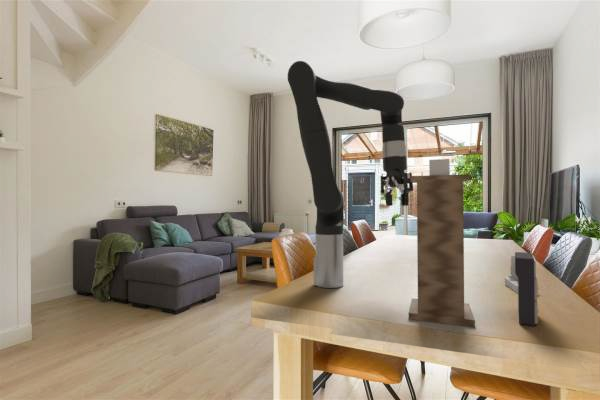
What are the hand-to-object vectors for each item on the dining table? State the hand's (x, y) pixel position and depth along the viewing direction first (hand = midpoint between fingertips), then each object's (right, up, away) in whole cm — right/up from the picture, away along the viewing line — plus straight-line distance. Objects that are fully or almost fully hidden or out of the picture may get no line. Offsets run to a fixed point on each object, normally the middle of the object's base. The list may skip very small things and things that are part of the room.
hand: (396, 205), depth 111 cm
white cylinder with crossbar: (+5, +8, -21) cm, 23 cm away
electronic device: (+38, -27, -4) cm, 47 cm away
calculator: (+22, -27, -31) cm, 46 cm away
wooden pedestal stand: (+3, -26, -26) cm, 38 cm away
